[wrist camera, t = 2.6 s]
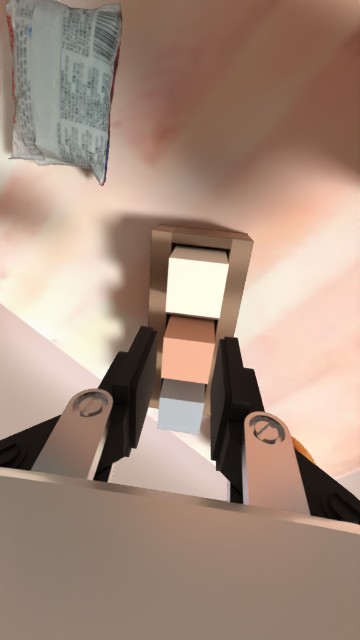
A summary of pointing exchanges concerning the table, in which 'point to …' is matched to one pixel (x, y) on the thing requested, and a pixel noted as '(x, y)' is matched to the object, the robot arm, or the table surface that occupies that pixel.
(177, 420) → the grey block
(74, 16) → the packaged food
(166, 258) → the frame block
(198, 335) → the key terracotta
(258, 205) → the table surface
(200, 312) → the key cream
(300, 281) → the table surface
